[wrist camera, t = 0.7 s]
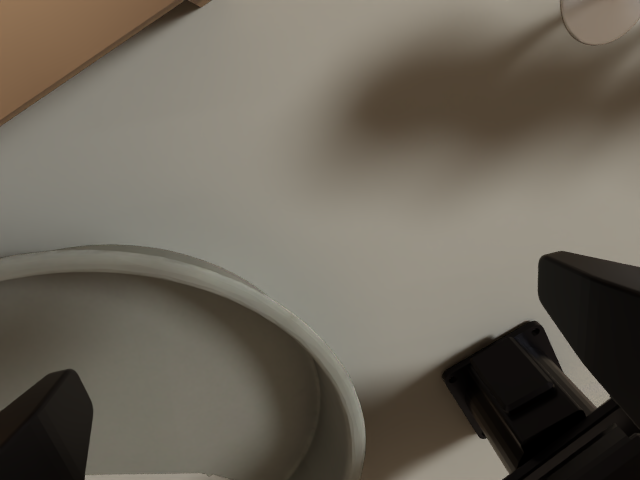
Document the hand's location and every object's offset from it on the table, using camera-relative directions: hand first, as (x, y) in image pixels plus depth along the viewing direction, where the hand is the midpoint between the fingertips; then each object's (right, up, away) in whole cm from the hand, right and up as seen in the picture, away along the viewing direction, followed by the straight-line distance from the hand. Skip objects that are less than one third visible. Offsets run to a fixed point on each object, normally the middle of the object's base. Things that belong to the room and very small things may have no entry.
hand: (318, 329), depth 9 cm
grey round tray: (-10, -8, +17) cm, 22 cm away
